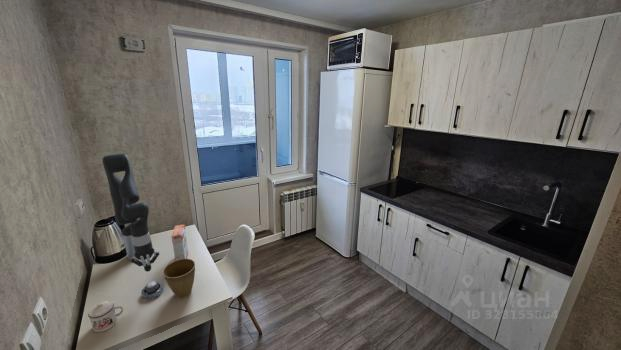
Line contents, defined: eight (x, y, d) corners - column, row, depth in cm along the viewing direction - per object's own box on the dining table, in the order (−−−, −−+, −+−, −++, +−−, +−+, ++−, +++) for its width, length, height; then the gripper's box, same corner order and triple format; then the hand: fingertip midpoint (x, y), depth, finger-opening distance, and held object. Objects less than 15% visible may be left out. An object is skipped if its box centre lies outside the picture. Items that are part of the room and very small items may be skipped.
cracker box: (186, 264, 157) (181, 234, 151) (175, 266, 155) (170, 236, 149) (189, 251, 170) (184, 223, 163) (179, 253, 168) (174, 225, 162)
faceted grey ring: (142, 290, 136) (142, 286, 135) (163, 283, 140) (162, 280, 139) (141, 302, 128) (140, 298, 127) (163, 295, 132) (162, 291, 131)
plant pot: (169, 287, 138) (164, 262, 133) (199, 280, 143) (195, 256, 139) (165, 307, 125) (160, 280, 120) (198, 298, 130) (194, 272, 125)
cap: (146, 291, 135) (145, 283, 133) (158, 287, 138) (157, 279, 136) (147, 298, 130) (145, 289, 129) (159, 293, 133) (157, 285, 132)
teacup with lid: (91, 336, 109) (84, 315, 106) (94, 321, 116) (88, 301, 113) (124, 324, 115) (119, 303, 112) (126, 310, 123) (121, 291, 119)
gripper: (157, 234, 131) (162, 262, 137) (126, 241, 125) (133, 270, 130) (157, 241, 125) (163, 270, 131) (125, 249, 119) (132, 279, 124)
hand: (148, 270), depth 130 cm, fingers closed
